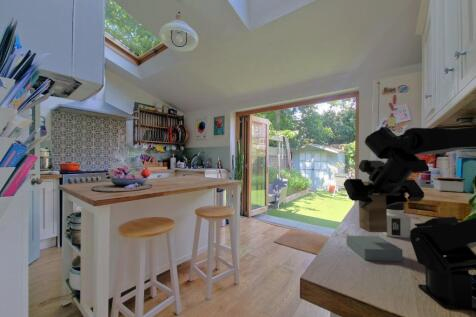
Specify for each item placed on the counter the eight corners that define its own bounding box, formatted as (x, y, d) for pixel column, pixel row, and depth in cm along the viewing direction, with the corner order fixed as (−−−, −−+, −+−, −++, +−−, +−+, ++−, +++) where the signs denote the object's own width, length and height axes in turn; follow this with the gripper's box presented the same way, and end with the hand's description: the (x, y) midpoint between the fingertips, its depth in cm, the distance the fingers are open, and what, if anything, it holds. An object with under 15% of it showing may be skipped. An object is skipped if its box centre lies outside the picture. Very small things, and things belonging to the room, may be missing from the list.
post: (387, 232, 58) (385, 182, 59) (369, 232, 58) (367, 182, 59) (376, 227, 63) (374, 181, 64) (359, 227, 63) (358, 181, 64)
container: (411, 238, 72) (411, 201, 72) (386, 236, 74) (386, 200, 74) (398, 231, 80) (398, 197, 80) (376, 229, 81) (376, 196, 81)
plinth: (402, 260, 55) (402, 249, 56) (364, 260, 56) (364, 248, 56) (378, 245, 65) (378, 236, 66) (346, 245, 66) (346, 235, 66)
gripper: (414, 150, 57) (387, 185, 68) (346, 150, 58) (330, 185, 68) (442, 181, 49) (406, 215, 60) (362, 180, 50) (341, 215, 60)
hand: (369, 206), depth 62 cm, fingers closed on post, 5 cm apart
